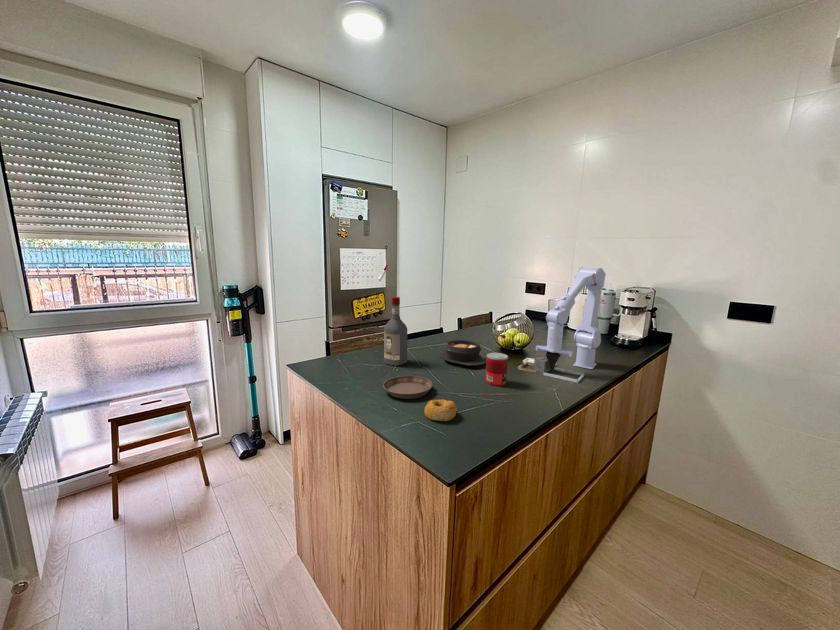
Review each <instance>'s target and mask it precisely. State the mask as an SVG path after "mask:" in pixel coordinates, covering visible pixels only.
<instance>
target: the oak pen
mask: <svg viewBox="0 0 840 630" xmlns="http://www.w3.org/2000/svg"><path fill="white" fill-rule="evenodd" d="M526 365H529V366H533V367H534V363H531V362H525V363H524V362H522V363H521V364H520V365H519V366H517V370H518V371H519V370H520V371H524V372H526V373H527V372H529V373H532V374H537V372H538V371H536V370H534V369H530V368H525V366H526Z"/></svg>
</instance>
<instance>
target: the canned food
mask: <svg viewBox="0 0 840 630" xmlns="http://www.w3.org/2000/svg"><path fill="white" fill-rule="evenodd" d="M485 360H486V363H485V383H486V384H487V385H490V386H492V387H503V386H506V385H507V380H508V367H509V366H508V365H509V355H507V354H505V353H501V352H490V353H489V352H488V353H486V359H485Z"/></svg>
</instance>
